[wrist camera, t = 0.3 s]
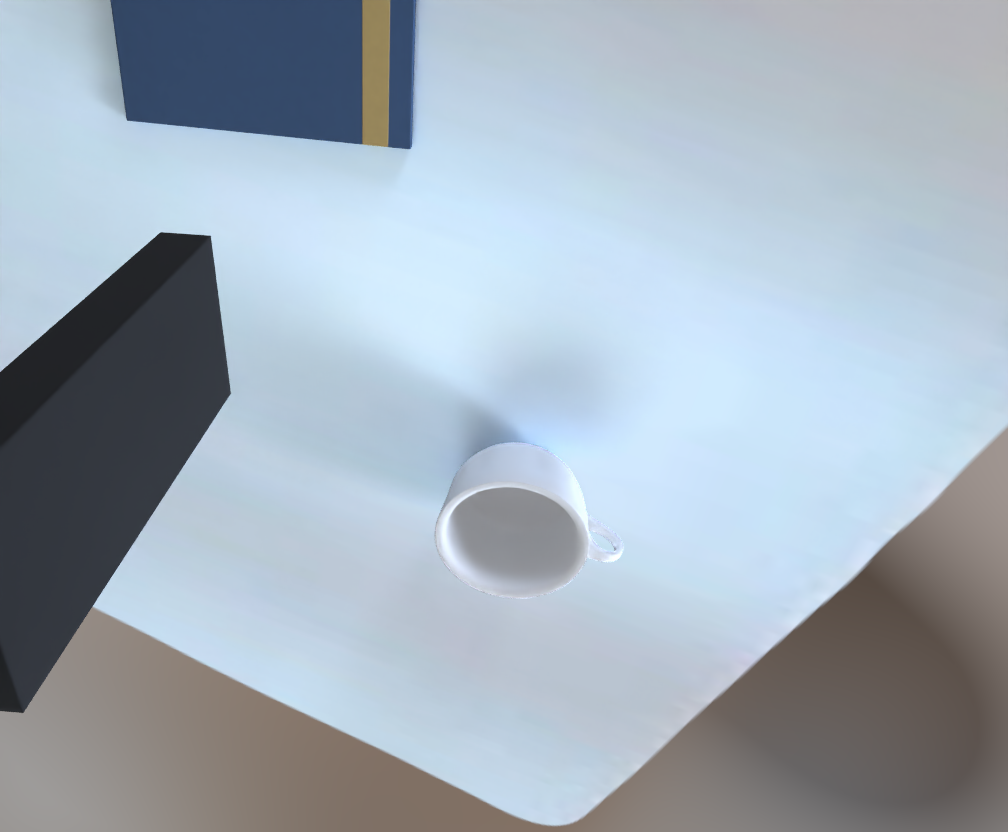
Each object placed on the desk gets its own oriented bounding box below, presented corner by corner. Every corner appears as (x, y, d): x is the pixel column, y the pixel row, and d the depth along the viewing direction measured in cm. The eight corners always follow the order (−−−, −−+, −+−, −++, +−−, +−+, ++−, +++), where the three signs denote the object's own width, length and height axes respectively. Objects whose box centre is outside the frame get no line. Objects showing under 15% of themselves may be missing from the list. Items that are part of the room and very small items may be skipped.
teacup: (432, 512, 50) (417, 575, 46) (470, 404, 47) (458, 460, 42) (595, 561, 51) (597, 627, 47) (646, 459, 48) (653, 519, 43)
